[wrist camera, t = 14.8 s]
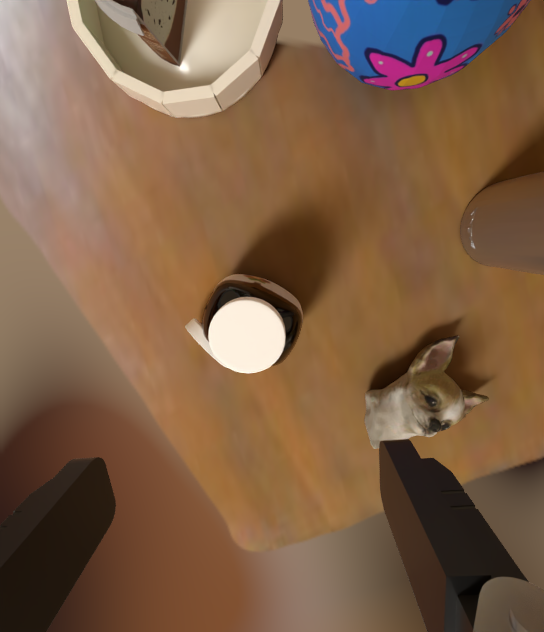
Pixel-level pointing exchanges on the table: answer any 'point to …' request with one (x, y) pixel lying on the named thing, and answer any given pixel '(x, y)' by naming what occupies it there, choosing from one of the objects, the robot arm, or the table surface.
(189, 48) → the bowl
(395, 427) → the ceramic sculpture
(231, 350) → the spread jar
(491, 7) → the ceramic pot
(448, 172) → the table surface
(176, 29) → the food container
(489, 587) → the robot arm
